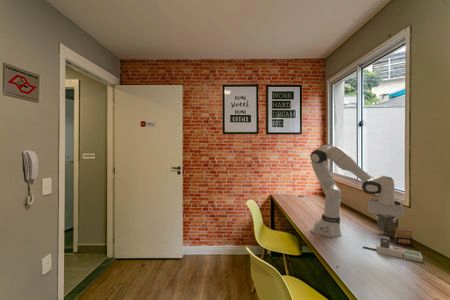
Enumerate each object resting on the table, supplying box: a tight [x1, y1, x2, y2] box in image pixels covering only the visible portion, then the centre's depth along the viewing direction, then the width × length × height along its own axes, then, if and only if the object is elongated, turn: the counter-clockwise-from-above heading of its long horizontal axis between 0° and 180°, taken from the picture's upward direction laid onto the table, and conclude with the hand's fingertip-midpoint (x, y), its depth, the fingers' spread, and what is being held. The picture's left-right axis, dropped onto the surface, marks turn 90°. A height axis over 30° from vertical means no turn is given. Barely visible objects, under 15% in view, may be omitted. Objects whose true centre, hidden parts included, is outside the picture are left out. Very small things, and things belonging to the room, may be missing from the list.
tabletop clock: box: [376, 213, 399, 240], centre depth 182 cm, size 14×9×25 cm, turn 168°
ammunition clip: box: [394, 227, 414, 247], centre depth 167 cm, size 11×2×12 cm, turn 75°
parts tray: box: [402, 248, 424, 263], centre depth 148 cm, size 9×9×3 cm
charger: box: [379, 235, 391, 248], centre depth 154 cm, size 5×5×9 cm
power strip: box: [362, 242, 404, 259], centre depth 155 cm, size 22×6×5 cm, turn 58°
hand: (385, 220), depth 154 cm, fingers open, 8 cm apart
